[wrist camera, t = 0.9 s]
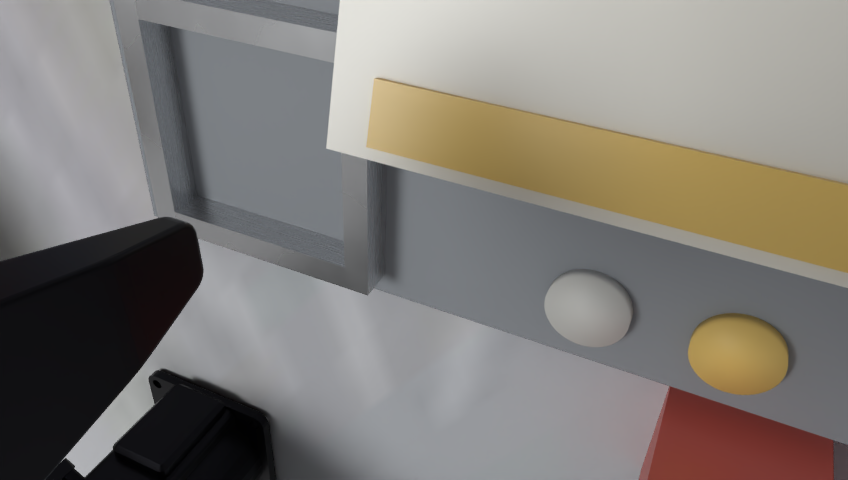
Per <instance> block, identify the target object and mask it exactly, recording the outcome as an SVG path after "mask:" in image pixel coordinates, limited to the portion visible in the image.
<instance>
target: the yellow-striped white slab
mask: <svg viewBox="0 0 848 480" xmlns="http://www.w3.org/2000/svg"><path fill="white" fill-rule="evenodd" d="M326 149H330V150H334V151H337V152H341V153H345V154H348V155H352V156H356V157H360V158H363V159H367V160H371V161H375V162H378V163H382V164H386V165H390V166H393V167H397V168H401V169H405V170H408V171H412V172H416V173H419V174H423V175H427V176H431V177H434V178H438V179H442V180H446V181H449V182H453V183H457V184H461V185H464V186H468V187H472V188H475V189H479V190H483V191H487V192H490V193H494V194H498V195H502V196H505V197H509V198H513V199H517V200H520V201H524V202H528V203H532V204H535V205H539V206H543V207H546V208H550V209H554V210H558V211H561V212H565V213H569V214H573V215H576V216H580V217H584V218H588V219H591V220H595V221H599V222H603V223H606V224H610V225H614V226H617V227H621V228H625V229H629V230H632V231H636V232H640V233H644V234H647V235H651V236H655V237H659V238H662V239H666V240H670V241H673V242H677V243H681V244H685V245H688V246H692V247H696V248H700V249H703V250H707V251H711V252H715V253H718V254H722V255H726V256H730V257H733V258H737V259H741V260H744V261H748V262H752V263H756V264H759V265H763V266H767V267H771V268H774V269H778V270H782V271H786V272H789V273H793V274H797V275H801V276H804V277H808V278H812V279H815V280H819V281H823V282H827V283H830V284H834V285H838V286H842V287H845V288H848V0H340V4H339V15H338V26H337V37H336V48H335V58H334V69H333V80H332V91H331V102H330V112H329V123H328V134H327V145H326Z"/></svg>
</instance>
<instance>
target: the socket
mask: <svg viewBox="0 0 848 480" xmlns="http://www.w3.org/2000/svg"><path fill="white" fill-rule="evenodd" d="M113 1H114V6H115V11H116V16H117V21H118V25H119V30H120V35H121V40H122V45H123V50H124V55H125V59H126V64H127V69H128V74H129V79H130V84H131V89H132V93H133V98H134V103H135V108H136V113H137V118H138V123H139V127H140V132H141V137H142V142H143V147H144V152H145V157H146V161H147V166H148V171H149V176H150V181H151V186H152V190H153V195H154V200H155V205H156V210H157V215H158V218H161V217H172V218H176V219H179V220H182V221H185V222H188V223H190V224H191V225H193V227H194V228H195V230H196V233H197V238H198V239H201V240H204V241H207V242H210V243H213V244H216V245H219V246H222V247H225V248H228V249H231V250H234V251H237V252H240V253H243V254H246V255H249V256H252V257H255V258H258V259H261V260H264V261H267V262H270V263H273V264H276V265H279V266H282V267H285V268H288V269H291V270H294V271H297V272H300V273H303V274H306V275H309V276H312V277H315V278H318V279H321V280H324V281H327V282H330V283H333V284H336V285H339V286H342V287H345V288H348V289H351V290H354V291H356V292H359V293H362V294H365V295H368V294H369V293H370V292H371V291H372V290H373V288H374V287H375V286H376V285H377V284H378V282H379V281H380V280H381V279H382V278H383V276H384V275H385V274H386V202H387V165H386V164H382V163H378V162H375V161H371V160H367V159H363V158H360V157H356V156H352V155H348V154H345V153H341V162H342V197H343V231H344V241H343V240H340V239H336V238H333V237H330V236H327V235H324V234H320V233H317V232H314V231H311V230H308V229H304V228H301V227H298V226H295V225H292V224H288V223H285V222H282V221H279V220H275V219H272V218H269V217H266V216H263V215H259V214H256V213H253V212H250V211H247V210H243V209H240V208H237V207H234V206H231V205H227V204H224V203H221V202H218V201H215V200H211V199H208V198H205V197H202V196H198V192H197V186H196V180H195V174H194V168H193V162H192V156H191V150H190V144H189V138H188V131H187V125H186V119H185V113H184V107H183V101H182V95H181V89H180V83H179V77H178V71H177V64H176V58H175V52H174V46H173V40H172V34H171V28H170V26H171V27H175V28H180V29H184V30H188V31H193V32H197V33H202V34H206V35H211V36H215V37H220V38H224V39H229V40H233V41H238V42H242V43H247V44H251V45H256V46H260V47H265V48H269V49H274V50H278V51H283V52H287V53H291V54H296V55H300V56H305V57H309V58H314V59H318V60H323V61H327V62H332V63H334V58H335V48H336V37H337V26H338V15H337V14H332V13H327V12H322V11H317V10H312V9H307V8H302V7H297V6H292V5H286V4H281V3H276V2H271V1H266V0H113Z"/></svg>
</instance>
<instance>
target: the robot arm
mask: <svg viewBox="0 0 848 480" xmlns="http://www.w3.org/2000/svg"><path fill="white" fill-rule="evenodd" d="M202 277H203V264H202V259H201V254H200V248H199V243H198V238H197V233H196V230H195V228H194V227H193V225H191V224H190V223H188V222H185V221H182V220H179V219H176V218H172V217H161V218H157V219H153V220H150V221H146V222H142V223H139V224H135V225H131V226H128V227H124V228H120V229H117V230H113V231H109V232H106V233H102V234H99V235H95V236H91V237H88V238H84V239H80V240H77V241H73V242H69V243H66V244H62V245H58V246H55V247H51V248H47V249H44V250H40V251H36V252H33V253H29V254H26V255H22V256H18V257H15V258H11V259H7V260H4V261H0V480H276V478H275V470H274V462H273V454H272V446H271V438H270V430H269V423H268V420H267V418H266V417H265V416H264V415H263V414H262V413H260V412H258V411H256V410H253V409H251V408H249V407H246V406H244V405H241V404H239V403H237V402H234V401H232V400H229V399H227V398H225V397H222V396H220V395H217V394H215V393H213V392H210V391H208V390H205V389H203V388H201V387H198V386H196V385H193V384H191V383H189V382H186V381H184V380H181V379H179V378H177V377H174V376H172V375H169V374H167V373H164V372H162V371H159V370H157V371H155V372H154V373H153V374H152V375H151V376H150V377H149V383H150V387H151V391H152V395H153V399H154V403H155V405H154V406H153V407H152V408H151V409H150V410H149V411H148V412H146V413H145V414H144V415H143V416H142V417H141V418H140V419H139V420H138V421H137V422H136V423H135V424H134V425H133V426H132V427H131V428H130V429H129V430H128V431H127V432H126V433H125V434H124V435H123V436H122V437H121V438H120V439H119V440H118V441H117V442H116V443H115V444H114V446H113V450H112V451H111V452H110V453H109V454H108V455H107V456H106V457H105V458H104V459H103V460H102V461H101V462H100V463H99V464H98V465H97V466H96V467H95V468H94V469H93V470H92V471H91V472H90V473H89V474H88V475H87V476H86V477H85V478H84V477H83V476H82V475H81V474H80V473H79V472H77V471H76V470H75V469H74V468H75V466H74V465H73V464H72V463H71V462H70V461H69V460H68V459H66V458H65V459H64V457H65V456H66V455H67V454H68V453H69V452H70V450H71V449H72V448H73V447H74V446H75V445H76V443H77V442H78V441H79V440H80V439H81V438H82V436H83V435H84V434H85V433H86V432H87V431H88V430H89V428H90V427H91V426H92V425H93V424H94V423H95V421H96V420H97V419H98V418H99V417H100V416H101V414H102V413H103V412H104V411H105V410H106V409H107V407H108V406H109V405H110V404H111V403H112V402H113V400H114V399H115V398H116V397H117V396H118V395H119V394H120V392H121V391H122V390H123V389H124V388H125V387H126V385H127V384H128V383H129V382H130V381H131V380H132V378H133V377H134V376H135V375H136V373H137V372H138V371H139V370H140V369H141V367H142V366H143V365H144V363H145V362H146V361H147V359H148V358H149V357H150V355H151V354H152V352H153V351H154V350H155V348H156V347H157V345H158V344H159V343H160V341H161V340H162V338H163V337H164V335H165V334H166V333H167V331H168V330H169V328H170V327H171V325H172V324H173V323H174V321H175V320H176V318H177V317H178V315H179V314H180V313H181V311H182V310H183V308H184V307H185V305H186V304H187V303H188V301H189V300H190V298H191V297H192V296H193V294H194V293H195V291H196V290H197V288H198V287H199V285H200V283H201V281H202ZM63 459H64V460H63ZM62 460H63V461H62ZM61 461H62V462H61ZM60 462H61V463H60Z"/></svg>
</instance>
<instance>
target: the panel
mask: <svg viewBox="0 0 848 480" xmlns="http://www.w3.org/2000/svg"><path fill="white" fill-rule="evenodd" d="M266 1H271V2H276V3H281V4H286V5H292V6H297V7H302V8H307V9H312V10H317V11H322V12H327V13H332V14H337V15H339V4H340V0H266ZM110 5H111V10H112V15H113V20H114V24H115V29H116V34H117V39H118V43H119V48H120V53H121V58H122V63H123V67H124V72H125V77H126V82H127V86H128V91H129V96H130V101H131V106H132V110H133V115H134V120H135V125H136V130H137V134H138V139H139V144H140V149H141V153H142V158H143V163H144V168H145V173H146V177H147V182H148V187H149V192H150V196H151V201H152V206H153V211H154V216H157V217H158V215H157V210H156V205H155V200H154V195H153V190H152V186H151V181H150V176H149V171H148V166H147V161H146V157H145V152H144V147H143V142H142V137H141V132H140V127H139V123H138V118H137V113H136V108H135V103H134V98H133V93H132V89H131V84H130V79H129V74H128V69H127V64H126V59H125V55H124V50H123V45H122V40H121V35H120V30H119V25H118V21H117V16H116V11H115V6H114V1H113V0H110ZM170 28H171V34H172V40H173V46H174V52H175V58H176V64H177V71H178V77H179V83H180V89H181V95H182V101H183V107H184V113H185V119H186V125H187V131H188V138H189V144H190V150H191V156H192V162H193V168H194V174H195V180H196V186H197V192H198V196H202V197H205V198H208V199H211V200H215V201H218V202H221V203H224V204H227V205H231V206H234V207H237V208H240V209H243V210H247V211H250V212H253V213H256V214H259V215H263V216H266V217H269V218H272V219H275V220H279V221H282V222H285V223H288V224H292V225H295V226H298V227H301V228H304V229H308V230H311V231H314V232H317V233H320V234H324V235H327V236H330V237H333V238H336V239H340V240H343V241H344V231H343V197H342V162H341V152H337V151H334V150H330V149H326V145H327V134H328V123H329V112H330V102H331V91H332V80H333V69H334V63H332V62H327V61H323V60H318V59H314V58H309V57H305V56H300V55H296V54H291V53H287V52H283V51H278V50H274V49H269V48H265V47H260V46H256V45H251V44H247V43H242V42H238V41H233V40H229V39H224V38H220V37H215V36H211V35H206V34H202V33H197V32H193V31H188V30H184V29H180V28H175V27H171V26H170ZM374 288H375V289H378V290H381V291H384V292H387V293H390V294H393V295H396V296H399V297H402V298H405V299H408V300H411V301H414V302H417V303H420V304H423V305H426V306H429V307H432V308H435V309H438V310H441V311H444V312H447V313H450V314H453V315H456V316H459V317H462V318H465V319H468V320H471V321H474V322H477V323H480V324H483V325H486V326H490V327H493V328H496V329H499V330H502V331H505V332H508V333H511V334H514V335H517V336H520V337H523V338H526V339H529V340H532V341H535V342H538V343H541V344H544V345H547V346H550V347H553V348H556V349H559V350H562V351H565V352H568V353H571V354H574V355H577V356H580V357H583V358H586V359H589V360H592V361H595V362H598V363H601V364H604V365H607V366H610V367H613V368H617V369H620V370H623V371H626V372H629V373H632V374H635V375H638V376H641V377H644V378H647V379H650V380H653V381H656V382H659V383H662V384H665V385H668V386H671V387H674V388H677V389H680V390H683V391H686V392H689V393H692V394H695V395H698V396H701V397H704V398H707V399H710V400H713V401H716V402H719V403H722V404H725V405H728V406H731V407H734V408H737V409H740V410H744V411H747V412H750V413H753V414H756V415H759V416H762V417H765V418H768V419H771V420H774V421H777V422H780V423H783V424H786V425H789V426H792V427H795V428H798V429H801V430H804V431H807V432H810V433H813V434H816V435H819V436H822V437H825V438H828V439H831V440H834V441H837V442H840V443H843V444H846V445H848V288H845V287H842V286H838V285H834V284H830V283H827V282H823V281H819V280H815V279H812V278H808V277H804V276H801V275H797V274H793V273H789V272H786V271H782V270H778V269H774V268H771V267H767V266H763V265H759V264H756V263H752V262H748V261H744V260H741V259H737V258H733V257H730V256H726V255H722V254H718V253H715V252H711V251H707V250H703V249H700V248H696V247H692V246H688V245H685V244H681V243H677V242H673V241H670V240H666V239H662V238H659V237H655V236H651V235H647V234H644V233H640V232H636V231H632V230H629V229H625V228H621V227H617V226H614V225H610V224H606V223H603V222H599V221H595V220H591V219H588V218H584V217H580V216H576V215H573V214H569V213H565V212H561V211H558V210H554V209H550V208H546V207H543V206H539V205H535V204H532V203H528V202H524V201H520V200H517V199H513V198H509V197H505V196H502V195H498V194H494V193H490V192H487V191H483V190H479V189H475V188H472V187H468V186H464V185H461V184H457V183H453V182H449V181H446V180H442V179H438V178H434V177H431V176H427V175H423V174H419V173H416V172H412V171H408V170H405V169H401V168H397V167H393V166H390V165H387V202H386V274H385V275H384V276H383V278H382V279H381V280H380V281H379V282H378V284H377V285H376V286H375V287H374Z"/></svg>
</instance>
